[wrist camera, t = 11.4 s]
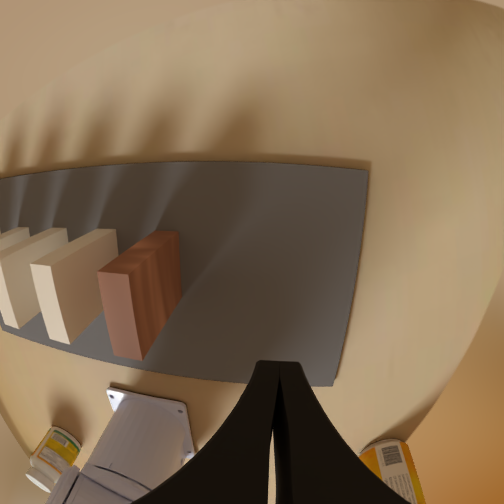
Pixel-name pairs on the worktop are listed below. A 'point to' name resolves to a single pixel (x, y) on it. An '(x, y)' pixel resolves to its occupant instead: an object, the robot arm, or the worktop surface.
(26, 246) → the ivory domino
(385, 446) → the beer can
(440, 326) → the worktop surface
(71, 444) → the supplement bottle
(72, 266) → the ivory domino
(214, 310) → the charcoal mat
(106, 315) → the terracotta domino
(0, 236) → the ivory domino
